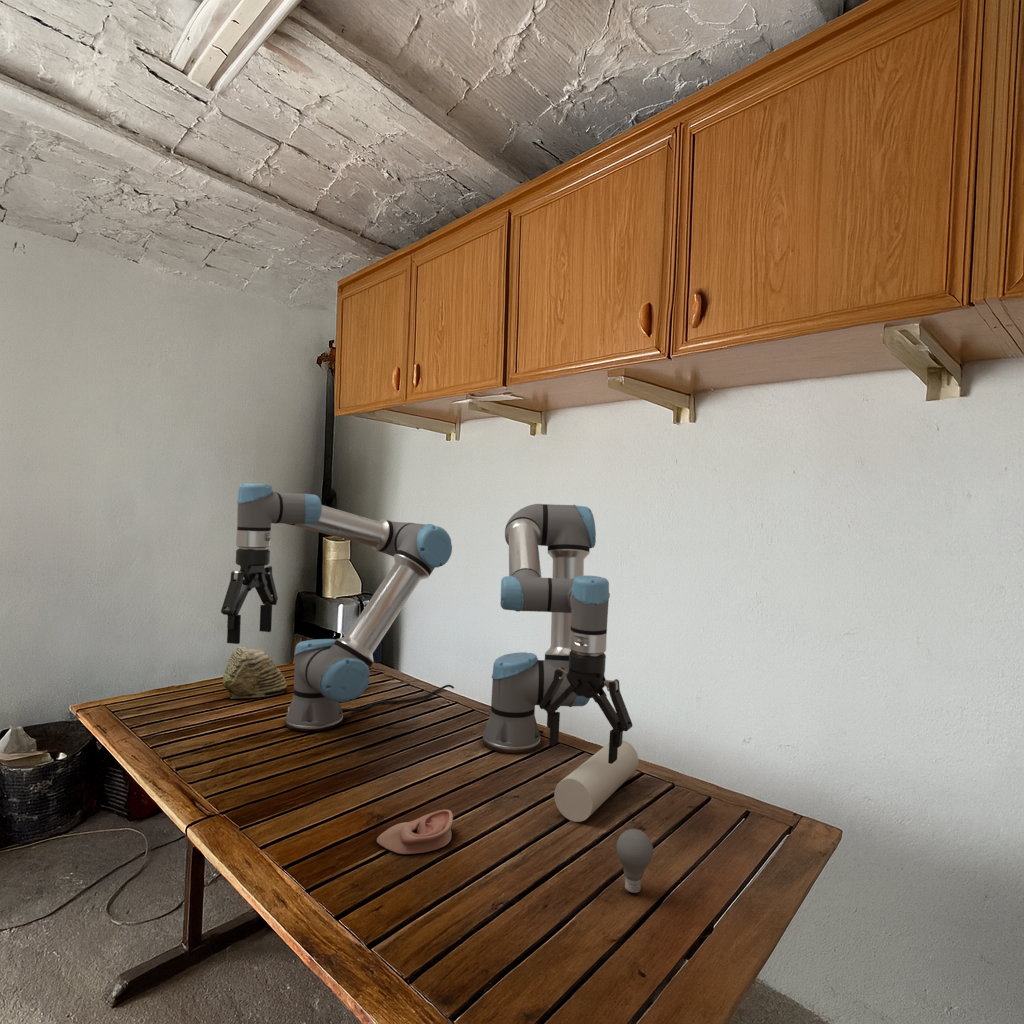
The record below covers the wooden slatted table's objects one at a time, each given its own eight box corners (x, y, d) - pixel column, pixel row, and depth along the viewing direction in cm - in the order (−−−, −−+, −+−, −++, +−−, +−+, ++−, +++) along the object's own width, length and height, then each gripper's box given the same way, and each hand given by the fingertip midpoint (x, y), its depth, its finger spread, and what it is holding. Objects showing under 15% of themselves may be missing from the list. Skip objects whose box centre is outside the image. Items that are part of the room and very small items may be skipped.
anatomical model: (370, 827, 114) (394, 798, 126) (369, 849, 114) (393, 818, 126) (440, 838, 112) (458, 808, 123) (439, 860, 112) (458, 828, 123)
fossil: (218, 695, 195) (220, 647, 195) (278, 685, 208) (279, 640, 207) (228, 703, 189) (230, 653, 188) (289, 692, 201) (290, 645, 201)
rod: (603, 770, 153) (605, 735, 153) (637, 780, 149) (639, 744, 148) (552, 814, 130) (555, 773, 130) (590, 828, 126) (594, 785, 126)
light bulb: (610, 879, 108) (613, 822, 108) (644, 879, 109) (647, 822, 109) (619, 902, 102) (622, 840, 102) (655, 901, 103) (658, 840, 103)
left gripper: (237, 553, 138) (234, 650, 138) (293, 545, 162) (290, 628, 163) (205, 551, 139) (202, 647, 139) (266, 544, 164) (263, 625, 164)
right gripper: (526, 644, 134) (522, 742, 135) (637, 667, 121) (632, 776, 122) (544, 637, 141) (539, 731, 142) (651, 659, 127) (646, 762, 128)
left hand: (250, 637), depth 151 cm, fingers open, 13 cm apart
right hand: (582, 752), depth 132 cm, fingers open, 13 cm apart
